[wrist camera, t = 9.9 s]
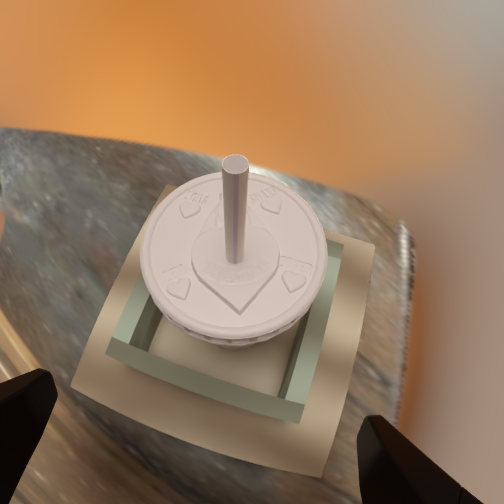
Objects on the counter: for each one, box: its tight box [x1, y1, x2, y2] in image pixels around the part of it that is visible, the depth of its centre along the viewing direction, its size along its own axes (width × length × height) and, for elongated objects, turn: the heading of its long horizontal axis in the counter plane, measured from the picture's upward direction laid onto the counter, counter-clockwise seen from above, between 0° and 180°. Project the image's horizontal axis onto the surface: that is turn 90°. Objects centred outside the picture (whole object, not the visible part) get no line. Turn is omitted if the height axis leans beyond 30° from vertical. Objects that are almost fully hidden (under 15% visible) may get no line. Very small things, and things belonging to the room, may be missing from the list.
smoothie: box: [140, 154, 328, 351], centre depth 13 cm, size 6×6×14 cm
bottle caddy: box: [70, 185, 375, 478], centre depth 18 cm, size 16×16×4 cm
